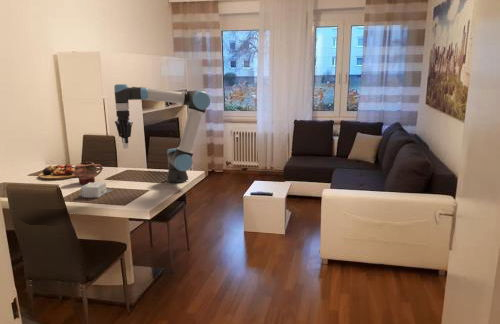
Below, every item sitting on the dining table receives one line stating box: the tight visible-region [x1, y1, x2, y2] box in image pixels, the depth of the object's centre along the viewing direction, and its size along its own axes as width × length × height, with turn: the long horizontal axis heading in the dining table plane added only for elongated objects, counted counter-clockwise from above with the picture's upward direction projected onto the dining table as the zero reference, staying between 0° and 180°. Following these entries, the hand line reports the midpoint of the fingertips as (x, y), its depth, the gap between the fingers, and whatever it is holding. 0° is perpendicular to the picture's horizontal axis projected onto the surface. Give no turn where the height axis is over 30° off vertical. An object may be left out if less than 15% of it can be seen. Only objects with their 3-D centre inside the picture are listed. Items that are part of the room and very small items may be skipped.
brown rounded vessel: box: [73, 161, 103, 185], centre depth 265 cm, size 20×12×14 cm, turn 138°
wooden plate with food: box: [37, 163, 78, 181], centre depth 287 cm, size 32×32×8 cm
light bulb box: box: [80, 182, 107, 198], centre depth 236 cm, size 11×7×11 cm
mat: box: [78, 188, 115, 199], centre depth 241 cm, size 11×18×1 cm, turn 152°
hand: (125, 148), depth 236 cm, fingers closed
